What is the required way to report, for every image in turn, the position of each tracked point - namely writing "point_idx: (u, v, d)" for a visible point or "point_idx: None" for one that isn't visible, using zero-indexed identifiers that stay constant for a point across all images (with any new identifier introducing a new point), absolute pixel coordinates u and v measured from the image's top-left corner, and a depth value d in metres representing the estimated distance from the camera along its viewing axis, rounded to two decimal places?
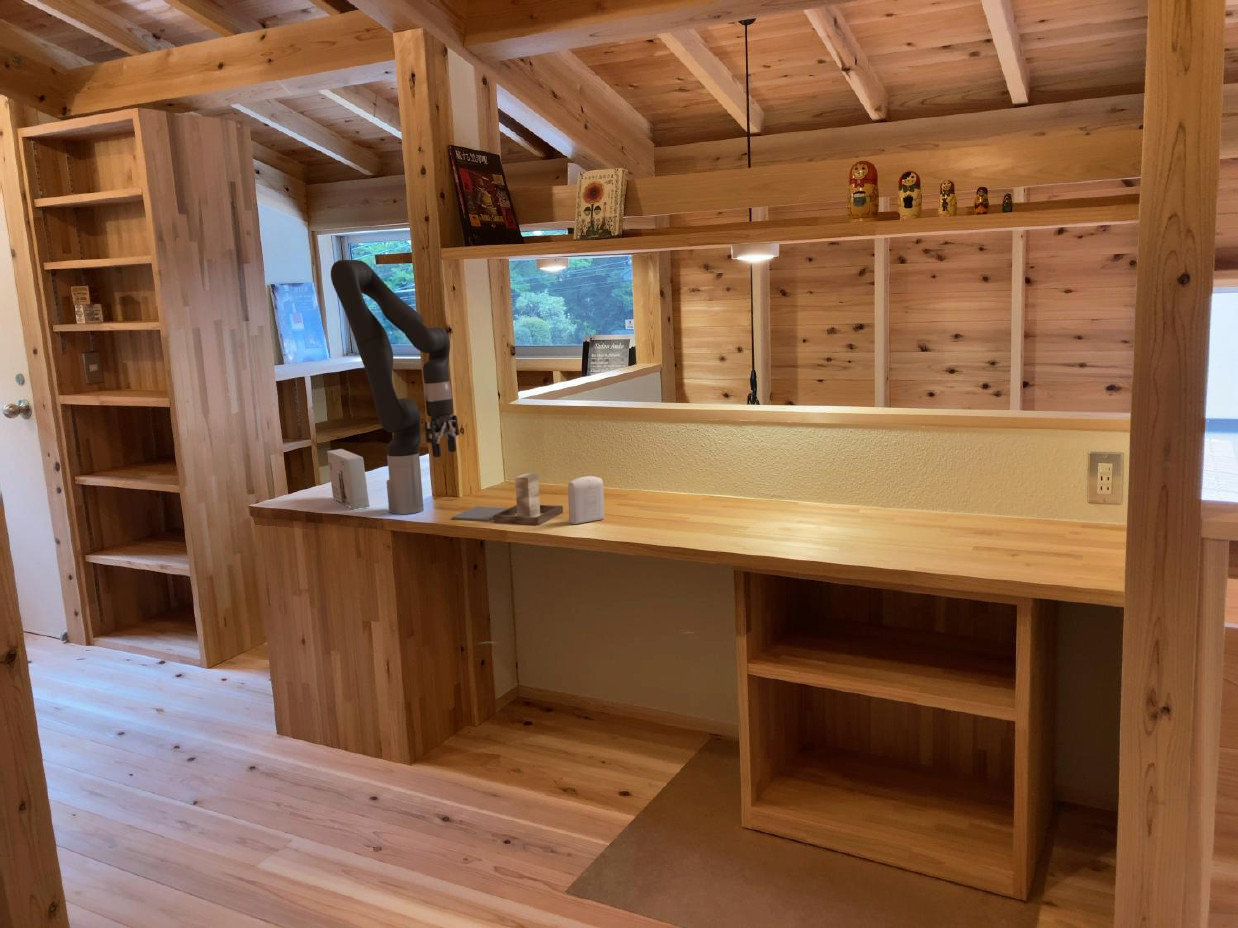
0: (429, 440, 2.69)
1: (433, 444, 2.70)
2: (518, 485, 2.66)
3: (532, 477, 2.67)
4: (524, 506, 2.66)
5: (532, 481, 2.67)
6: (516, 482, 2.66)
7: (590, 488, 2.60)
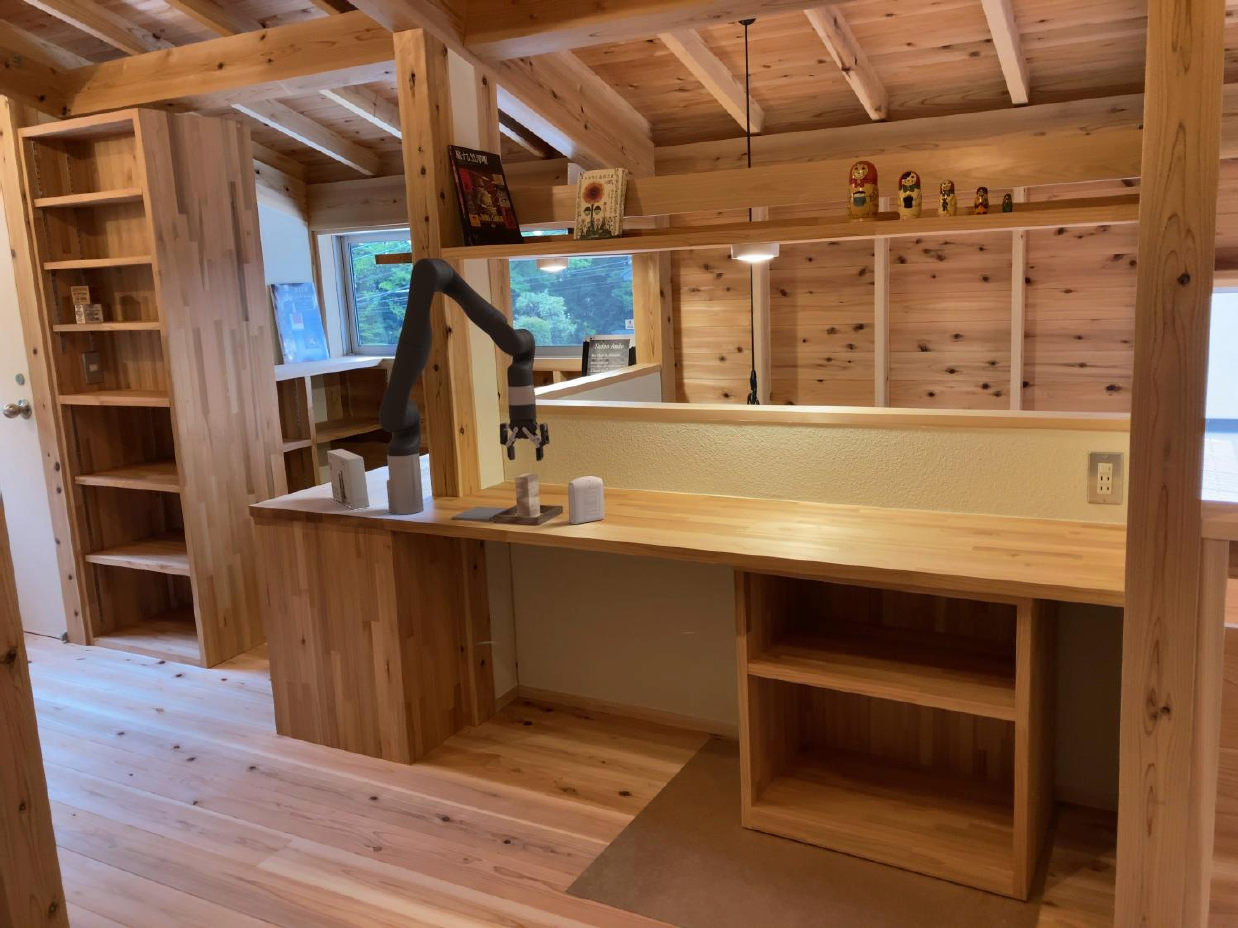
0: (547, 442, 2.63)
1: (542, 447, 2.64)
2: (518, 485, 2.66)
3: (532, 477, 2.67)
4: (524, 506, 2.66)
5: (532, 481, 2.67)
6: (516, 482, 2.66)
7: (590, 488, 2.60)
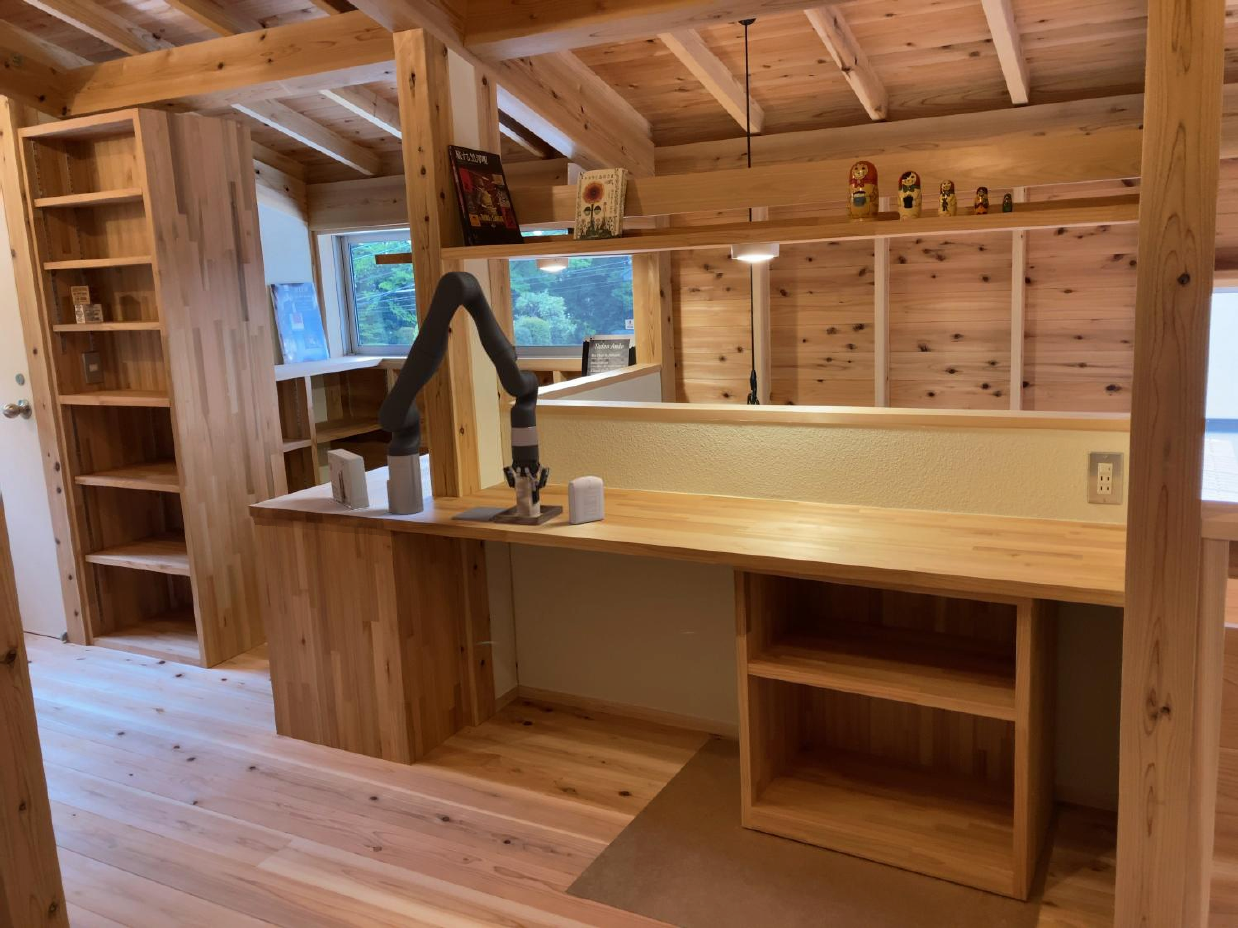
0: (543, 485, 2.66)
1: (538, 490, 2.67)
2: (518, 485, 2.66)
3: None
4: (524, 506, 2.66)
5: None
6: (516, 482, 2.66)
7: (590, 488, 2.60)
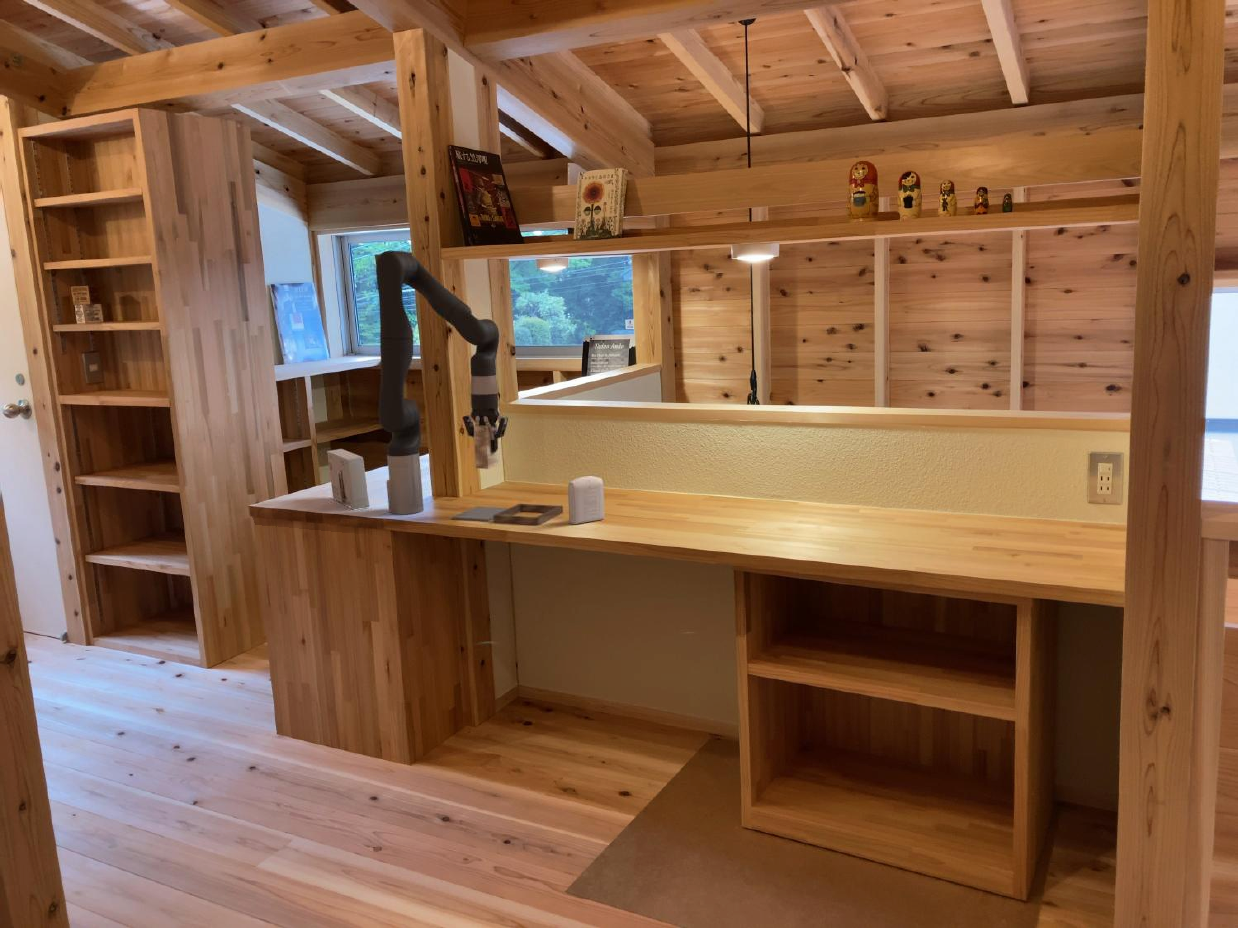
0: (501, 434, 2.69)
1: (496, 439, 2.69)
2: (477, 433, 2.68)
3: None
4: (482, 454, 2.69)
5: None
6: (475, 430, 2.68)
7: (590, 488, 2.60)
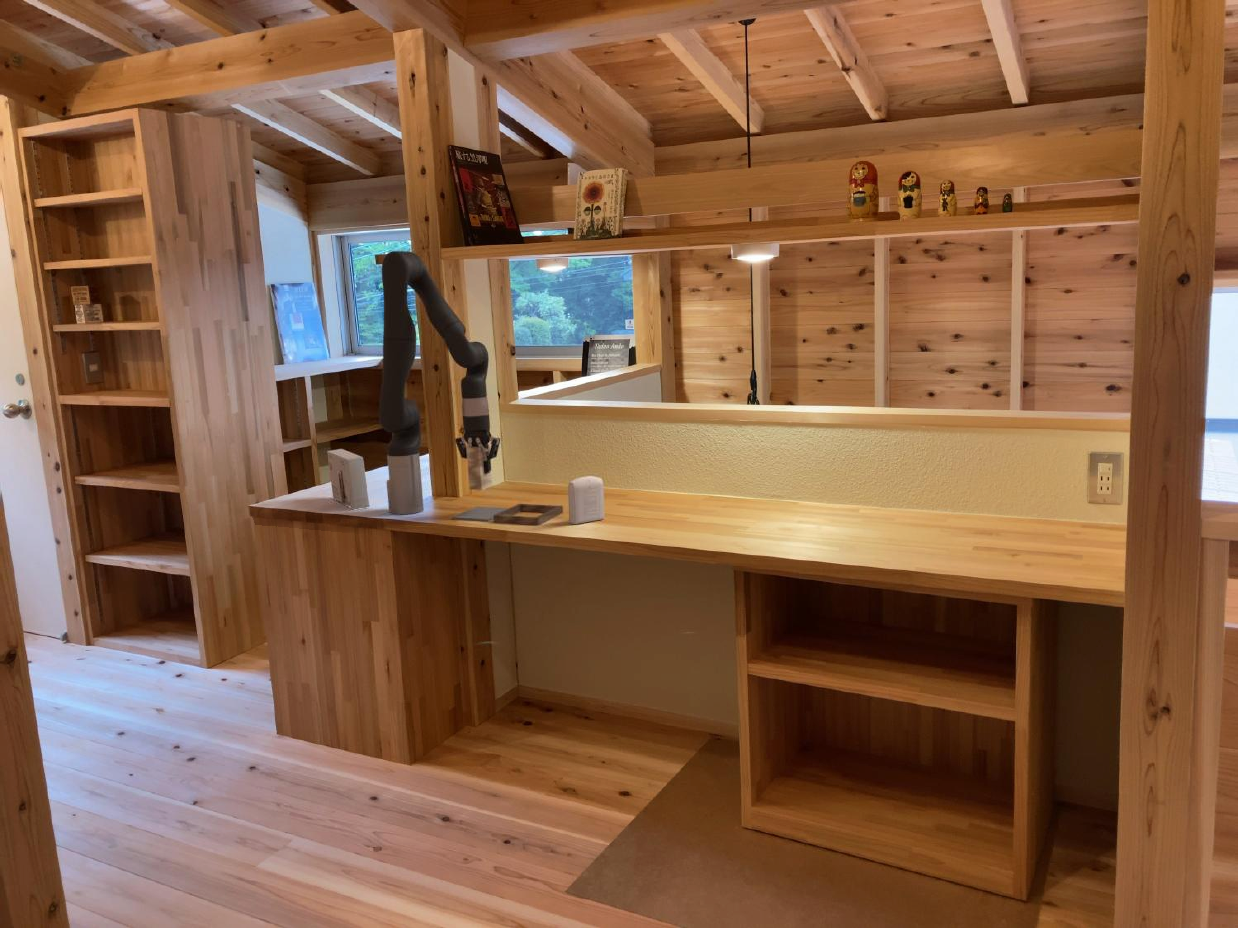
0: (494, 455, 2.71)
1: (489, 460, 2.72)
2: (469, 455, 2.70)
3: None
4: (476, 475, 2.71)
5: None
6: (467, 452, 2.70)
7: (590, 488, 2.60)
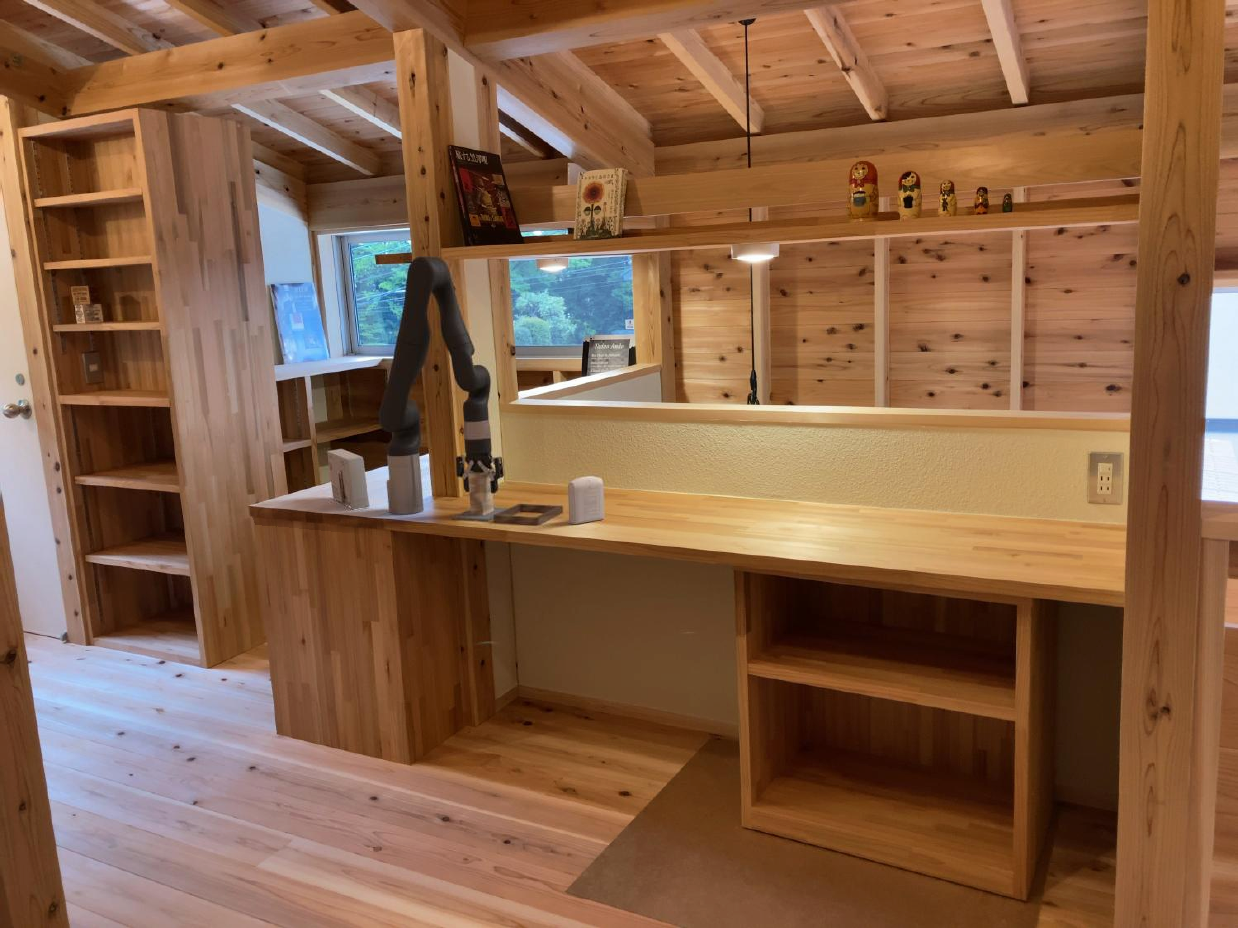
0: (501, 475, 2.71)
1: (496, 480, 2.72)
2: (471, 481, 2.72)
3: None
4: (477, 501, 2.72)
5: (485, 477, 2.73)
6: (469, 478, 2.72)
7: (590, 488, 2.60)
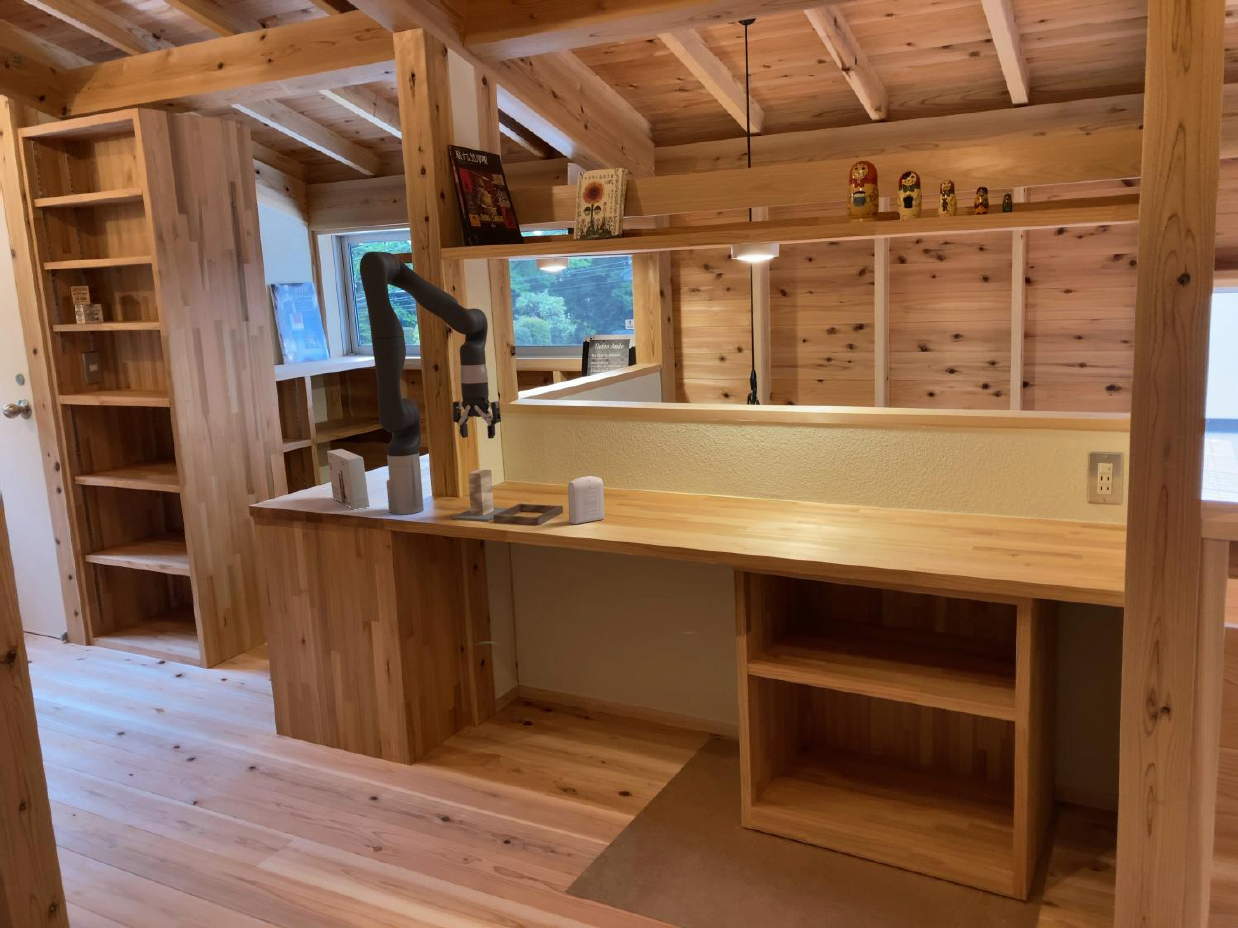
0: (498, 420, 2.68)
1: (493, 425, 2.69)
2: (471, 481, 2.72)
3: (485, 473, 2.73)
4: (477, 501, 2.72)
5: (485, 477, 2.73)
6: (469, 478, 2.72)
7: (590, 488, 2.60)
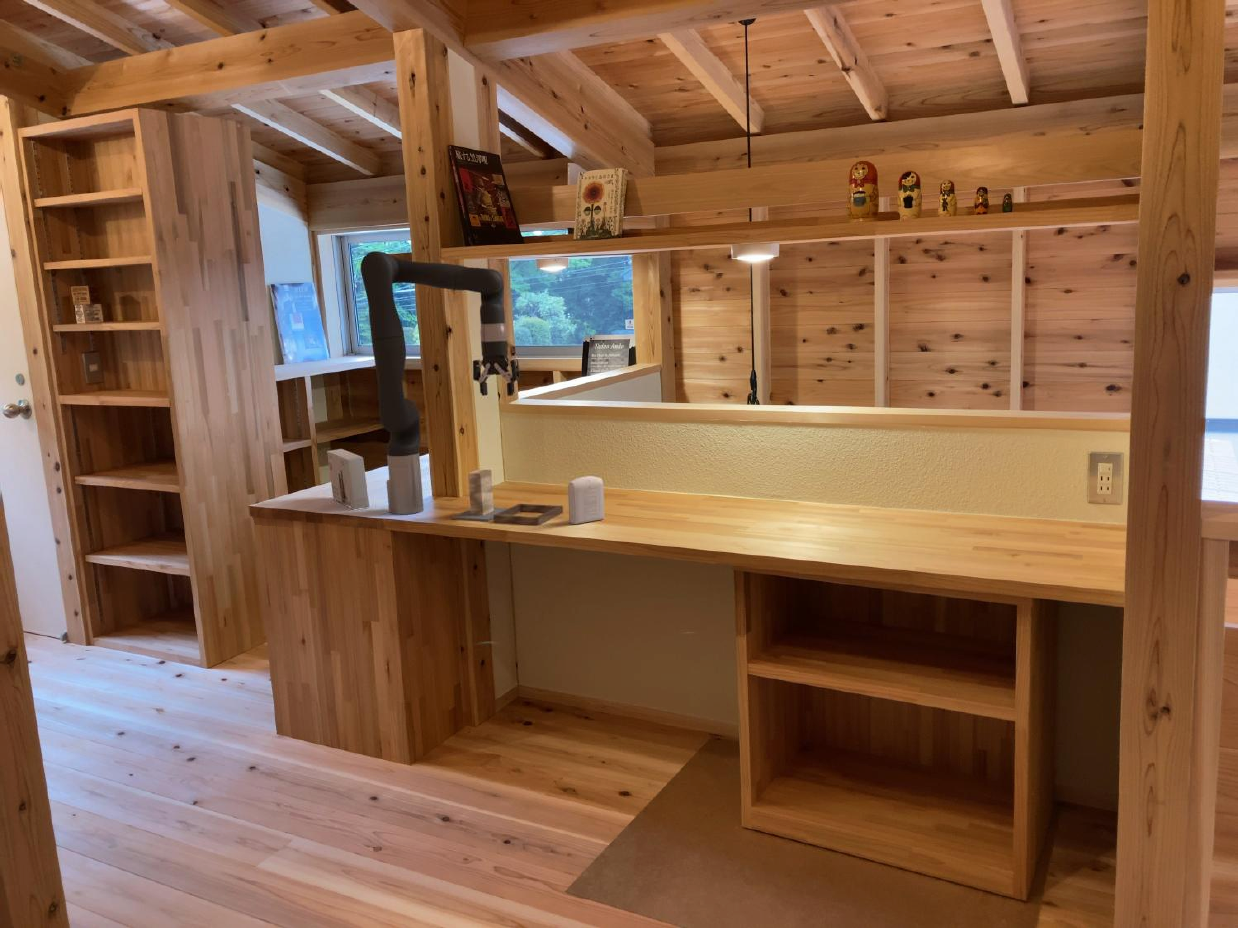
0: (517, 377, 2.76)
1: (513, 382, 2.77)
2: (471, 481, 2.72)
3: (485, 473, 2.73)
4: (477, 501, 2.72)
5: (485, 477, 2.73)
6: (469, 478, 2.72)
7: (590, 488, 2.60)
